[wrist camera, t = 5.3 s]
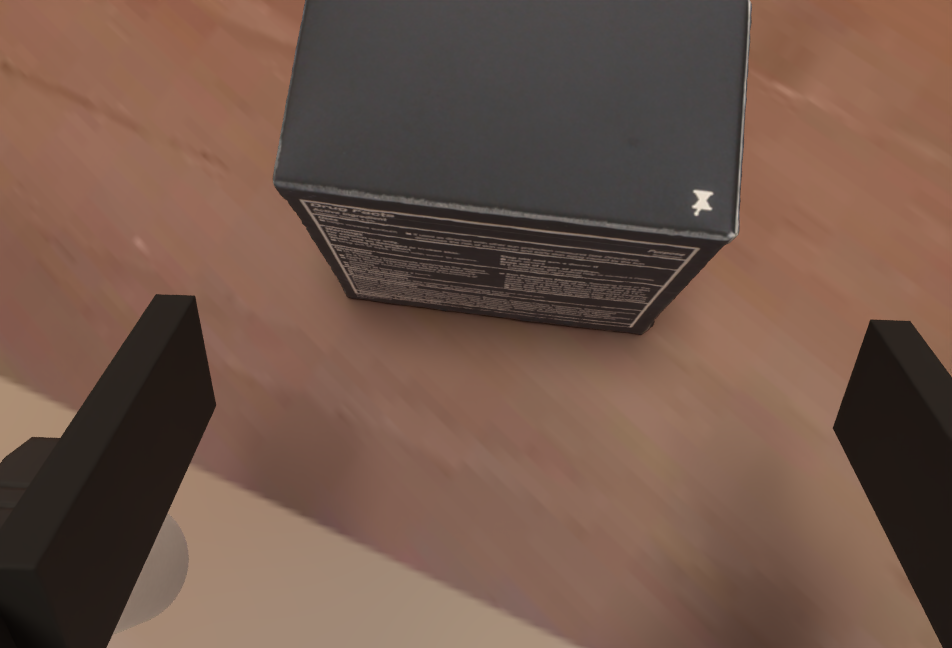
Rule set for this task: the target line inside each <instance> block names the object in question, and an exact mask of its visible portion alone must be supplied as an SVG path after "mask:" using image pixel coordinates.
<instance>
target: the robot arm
mask: <svg viewBox="0 0 952 648" xmlns="http://www.w3.org/2000/svg"><path fill="white" fill-rule="evenodd" d="M215 407H216V402H215V397H214V392H213V386H212V381H211V376H210V371H209V366H208V361H207V355H206V350H205V345H204V340H203V335H202V330H201V324H200V319H199V314H198V309H197V304H196V299H195V296H187V295H159V294H156V295H155V296H154V298H153V299H152V301H151V302H150V304H149V305H148V307H147V308H146V310H145V311H144V313H143V314H142V316H141V318H140V319H139V321H138V322H137V324H136V325H135V327H134V328H133V330H132V331H131V333H130V334H129V336H128V337H127V339H126V340H125V342H124V343H123V345H122V346H121V348H120V349H119V351H118V352H117V354H116V355H115V357H114V358H113V360H112V361H111V363H110V364H109V366H108V367H107V369H106V370H105V372H104V373H103V375H102V376H101V378H100V379H99V381H98V382H97V384H96V385H95V387H94V388H93V390H92V391H91V393H90V394H89V396H88V397H87V399H86V400H85V402H84V403H83V405H82V406H81V408H80V409H79V411H78V412H77V414H76V415H75V417H74V418H73V420H72V422H71V423H70V425H69V426H68V427H67V429H66V430H65V432H64V433H63V435H62V436H61V438H44V437H31V438H30V439H29V440H28V441H26V442H25V443H24V444H22V445H21V446H20V447H18V448H17V449H16V450H14V451H13V452H12V453H10V454H9V455H8V456H6V457H5V458H4V459H3V460H2V462H1V463H0V648H106V647H107V645H108V643H109V641H110V639H111V636H112V634H113V632H114V630H115V628H116V625H117V623H118V621H119V619H120V617H121V614H122V612H123V610H124V608H125V606H126V603H127V601H128V599H129V597H130V595H131V592H132V590H133V588H134V586H135V583H136V581H137V579H138V577H139V575H140V572H141V570H142V568H143V566H144V564H145V561H146V559H147V557H148V555H149V553H150V550H151V548H152V546H153V544H154V542H155V539H156V537H157V535H158V533H159V531H160V528H161V526H162V524H163V522H164V520H165V517H166V515H167V513H168V511H169V508H170V506H171V504H172V502H173V500H174V497H175V495H176V493H177V491H178V488H179V486H180V484H181V482H182V480H183V478H184V475H185V473H186V471H187V469H188V467H189V464H190V462H191V460H192V458H193V456H194V453H195V451H196V449H197V447H198V444H199V442H200V440H201V438H202V436H203V433H204V431H205V429H206V427H207V425H208V422H209V420H210V418H211V416H212V414H213V411H214V409H215ZM833 429H834V431H835V433H836V435H837V437H838V439H839V441H840V443H841V445H842V447H843V449H844V451H845V453H846V455H847V457H848V459H849V461H850V463H851V465H852V467H853V469H854V471H855V473H856V475H857V477H858V479H859V481H860V483H861V485H862V487H863V489H864V491H865V493H866V495H867V497H868V499H869V501H870V503H871V505H872V507H873V509H874V511H875V513H876V515H877V517H878V519H879V521H880V523H881V525H882V527H883V529H884V531H885V533H886V535H887V537H888V539H889V541H890V543H891V545H892V547H893V549H894V551H895V553H896V555H897V557H898V559H899V561H900V563H901V565H902V567H903V569H904V571H905V573H906V575H907V577H908V579H909V581H910V583H911V585H912V587H913V589H914V591H915V593H916V595H917V597H918V599H919V601H920V603H921V605H922V607H923V609H924V611H925V613H926V615H927V617H928V619H929V621H930V623H931V625H932V627H933V629H934V631H935V633H936V635H937V637H938V639H939V641H940V643H941V645H942V647H943V648H952V377H951V376H950V374H949V373H948V372H947V370H946V369H945V368H944V366H943V365H942V363H941V362H940V361H939V359H938V358H937V357H936V355H935V354H934V353H933V351H932V350H931V349H930V347H929V346H928V345H927V343H926V342H925V340H924V339H923V338H922V336H921V335H920V334H919V332H918V331H917V330H916V328H915V327H914V326H913V324H912V323H911V322H910V321H894V320H870V322H869V325H868V328H867V331H866V334H865V337H864V340H863V343H862V345H861V348H860V351H859V354H858V357H857V360H856V363H855V366H854V368H853V371H852V374H851V377H850V380H849V383H848V386H847V389H846V392H845V394H844V397H843V400H842V403H841V406H840V409H839V412H838V415H837V418H836V420H835V423H834V426H833Z"/></svg>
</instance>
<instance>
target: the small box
mask: <svg viewBox="0 0 952 648" xmlns="http://www.w3.org/2000/svg"><path fill="white" fill-rule="evenodd" d="M751 11H752V4H751V2H750V0H305V5H304V10H303V17H302V22H301V26H300V31H299V37H298V42H297V46H296V51H295V58H294V63H293V68H292V76H291V80H290V85H289V91H288V96H287V100H286V105H285V112H284V118H283V124H282V129H281V134H280V140H279V146H278V152H277V157H276V161H275V167H274V174H273V183H274V186H275V188H276V189H277V191H278V192H279V193H280V195H281V196H282V197H283V198H284V199H286V200H287V201H288V203H289V204H290V206H291V207H292V209H293V210H294V211H295V212H296V213H297V215H298V216H299V218H300V219H301V221H302V224H303V225H304V226H306V229H307V231H308V232H309V234H310V236H311V238H312V239H313V241H314V242H315V243H316V245H317V247H318V248H319V250H320V252H321V253H322V255H323V256H324V258H325V259H326V261H327V262H328V264H329V266H331V269H332V271H333V273H334V274H335V275H336V276H337V278H338V280H339V282H340V284H341V286H342V287H343V290H344V292H345V294H346V296H347V297H349V298H354V299H365V300H372V301H378V302H385V303H393V304H401V305H410V306H417V307H426V308H433V309H440V310H443V311H456V312H464V313H471V314H479V315H488V316H497V317H502V318H512V319H519V320H522V321H532V322H539V323H551V324H558V325H566V326H574V327H582V328H592V329H600V330H611V331H618V332H628V333H634V334H639V335H641V334H643V333H644V332H645V331H647V330H648V329H649V328H651V327H652V326H653V324H654V320H655V319H656V318H657V317H658V315H659V314H660V313H661V312H662V311H663V310H664V309H665V308H666V307H667V306H668V305H669V304H670V303H671V302H672V300H673V299H675V298H676V296H677V295H678V294H679V293H680V292H681V291H682V290H683V289H684V288H685V287H686V286H687V285H688V283H689V282H690V281H691V280H692V279H693V278H694V277H695V276H696V275H697V274H698V273H699V272H700V270H701V269H702V268H704V267H705V265H706V264H707V263H708V262H709V261H710V259H712V258H713V257H714V255H715V254H717V252H718V251H719V250H720V249H721V248H722V247H723V246H724V245H726V244H728V243H730V242H731V241H732V240H733V239H734V238H735V237H736V236H737V235H738V233H739V209H740V190H741V177H742V160H743V148H744V123H745V108H746V100H747V98H746V92H747V77H748V58H749V47H750V28H751Z"/></svg>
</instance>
